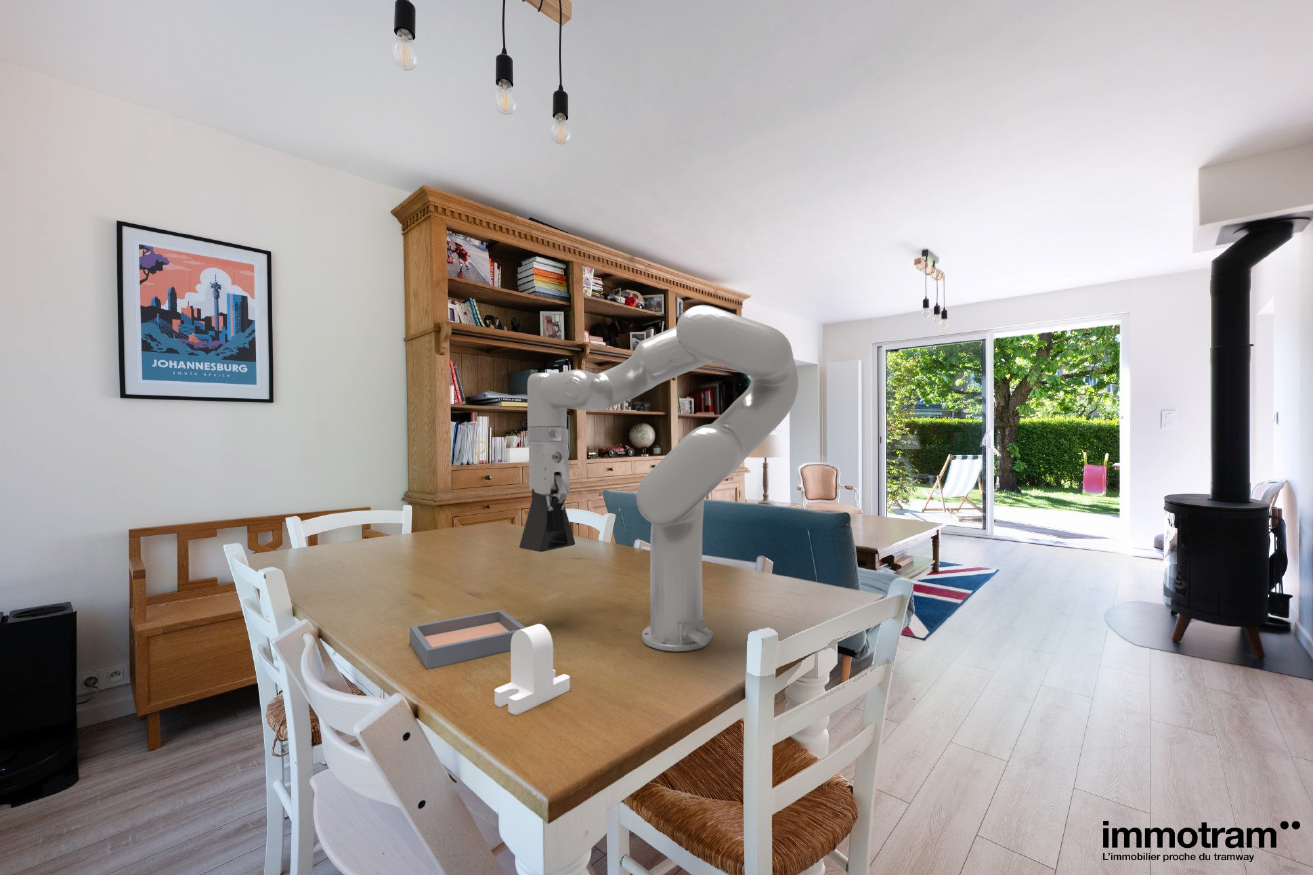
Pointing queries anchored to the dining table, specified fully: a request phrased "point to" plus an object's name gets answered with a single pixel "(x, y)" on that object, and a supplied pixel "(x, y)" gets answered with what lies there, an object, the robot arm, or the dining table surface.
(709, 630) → the robot arm
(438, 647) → the grey tray
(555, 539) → the phone stand
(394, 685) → the dining table surface
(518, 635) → the cable organizer
